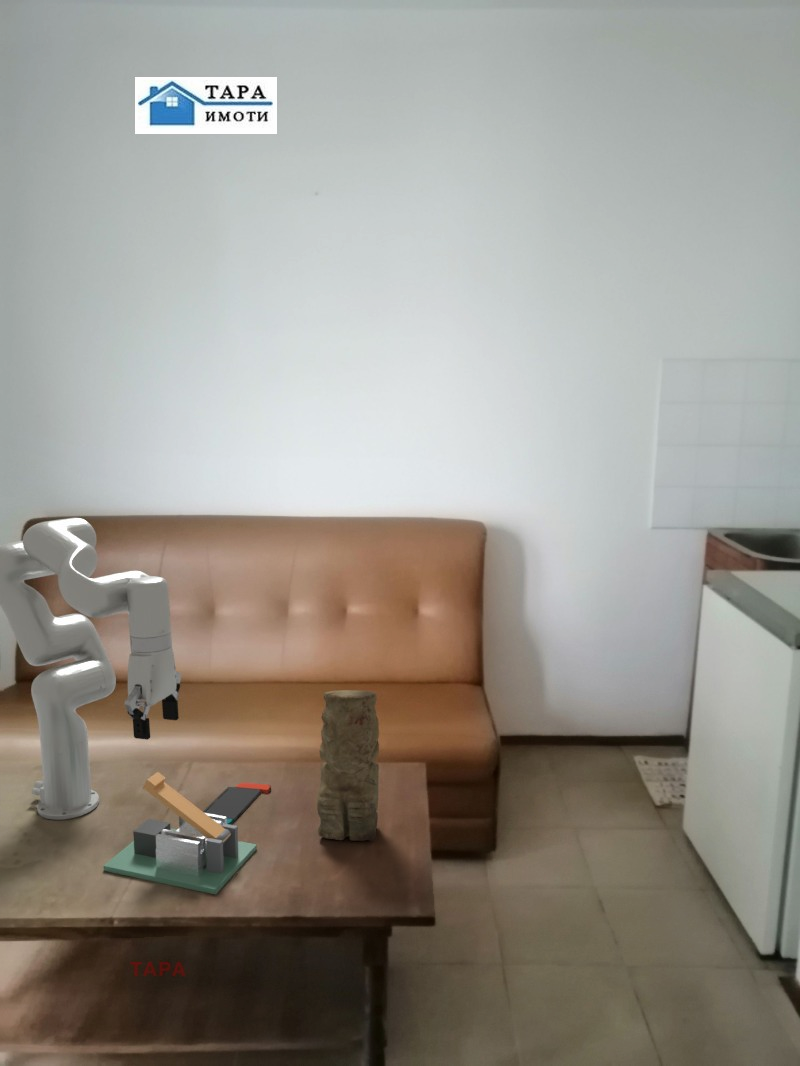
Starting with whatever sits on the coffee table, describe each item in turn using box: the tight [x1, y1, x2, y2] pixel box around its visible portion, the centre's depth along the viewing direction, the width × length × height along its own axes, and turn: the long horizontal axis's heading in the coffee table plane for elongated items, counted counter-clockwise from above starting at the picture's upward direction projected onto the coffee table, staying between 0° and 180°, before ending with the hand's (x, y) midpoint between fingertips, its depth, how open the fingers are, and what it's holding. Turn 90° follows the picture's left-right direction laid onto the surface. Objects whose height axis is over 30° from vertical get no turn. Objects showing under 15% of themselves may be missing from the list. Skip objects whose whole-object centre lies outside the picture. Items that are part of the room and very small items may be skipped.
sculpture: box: [316, 689, 380, 842], centre depth 172 cm, size 12×9×30 cm
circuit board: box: [103, 818, 258, 895], centre depth 164 cm, size 24×16×7 cm, turn 72°
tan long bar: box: [142, 771, 231, 843], centre depth 162 cm, size 19×4×2 cm, turn 73°
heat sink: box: [156, 813, 227, 877], centre depth 163 cm, size 9×11×6 cm
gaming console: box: [202, 782, 272, 825], centre depth 186 cm, size 19×1×10 cm
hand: (156, 728), depth 163 cm, fingers open, 9 cm apart
